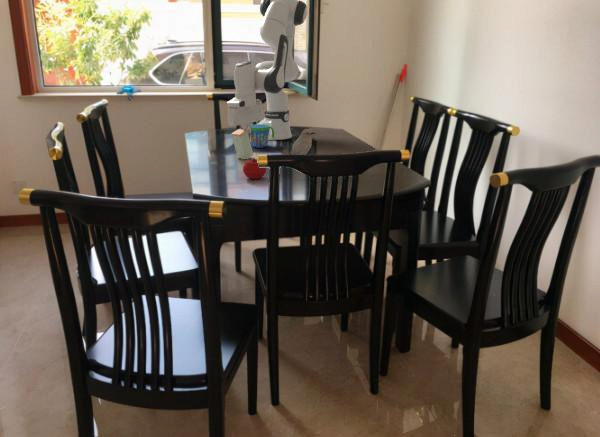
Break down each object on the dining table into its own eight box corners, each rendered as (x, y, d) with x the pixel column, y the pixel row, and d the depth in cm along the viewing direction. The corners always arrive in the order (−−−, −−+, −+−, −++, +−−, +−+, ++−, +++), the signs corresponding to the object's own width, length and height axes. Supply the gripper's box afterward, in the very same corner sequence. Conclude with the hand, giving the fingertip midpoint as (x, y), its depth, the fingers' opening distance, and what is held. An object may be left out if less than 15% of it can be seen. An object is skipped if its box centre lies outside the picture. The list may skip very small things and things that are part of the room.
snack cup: (270, 143, 257) (270, 122, 253) (278, 147, 248) (278, 126, 244) (241, 146, 251) (240, 125, 247) (248, 150, 242) (247, 128, 238)
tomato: (269, 180, 192) (268, 159, 189) (246, 182, 189) (245, 161, 187) (262, 174, 200) (262, 154, 197) (240, 176, 197) (239, 156, 194)
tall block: (237, 158, 226) (231, 133, 220) (245, 153, 229) (238, 128, 223) (246, 159, 223) (239, 134, 217) (253, 154, 226) (247, 129, 220)
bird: (313, 166, 210) (313, 130, 205) (284, 163, 216) (283, 128, 211) (318, 164, 214) (318, 128, 209) (289, 161, 220) (289, 126, 215)
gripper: (256, 98, 228) (257, 129, 233) (223, 103, 213) (226, 136, 218) (266, 99, 225) (268, 130, 230) (235, 104, 209) (237, 137, 214)
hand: (247, 133), depth 223 cm, fingers closed
